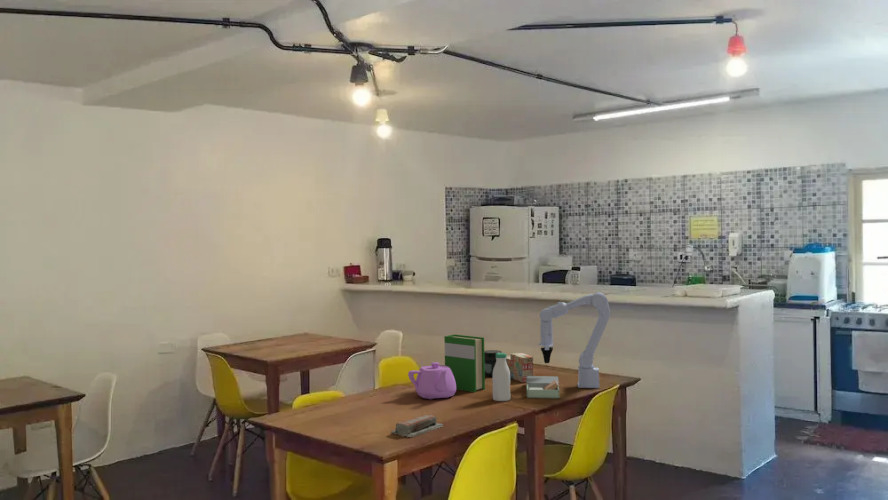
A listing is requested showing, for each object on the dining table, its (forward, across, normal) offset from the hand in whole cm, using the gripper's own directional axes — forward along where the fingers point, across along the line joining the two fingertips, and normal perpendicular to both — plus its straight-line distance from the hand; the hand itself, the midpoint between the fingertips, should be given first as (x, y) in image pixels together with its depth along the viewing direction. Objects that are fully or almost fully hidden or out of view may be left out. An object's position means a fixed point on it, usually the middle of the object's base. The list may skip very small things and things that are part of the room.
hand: (546, 363), depth 337 cm
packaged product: (+11, +80, -49) cm, 94 cm away
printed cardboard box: (+11, -16, -14) cm, 24 cm away
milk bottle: (+11, +30, -20) cm, 38 cm away
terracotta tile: (+8, +18, +2) cm, 20 cm away
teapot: (+11, +26, -49) cm, 56 cm away
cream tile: (+8, +21, -5) cm, 23 cm away
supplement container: (+11, -22, -27) cm, 36 cm away
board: (+10, +7, -2) cm, 13 cm away
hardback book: (+11, +9, -38) cm, 40 cm away
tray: (+10, +20, -2) cm, 23 cm away
